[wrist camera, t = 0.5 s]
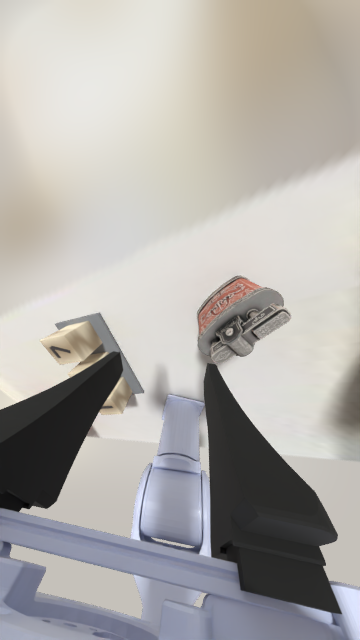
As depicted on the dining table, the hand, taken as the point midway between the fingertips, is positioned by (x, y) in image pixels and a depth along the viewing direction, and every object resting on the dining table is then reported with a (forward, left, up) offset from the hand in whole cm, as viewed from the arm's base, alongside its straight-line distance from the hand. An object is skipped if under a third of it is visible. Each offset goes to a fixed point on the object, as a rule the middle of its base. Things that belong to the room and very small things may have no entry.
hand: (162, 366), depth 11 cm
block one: (-19, +9, -10) cm, 23 cm away
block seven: (-7, +15, -10) cm, 19 cm away
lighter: (+4, -5, -10) cm, 12 cm away
